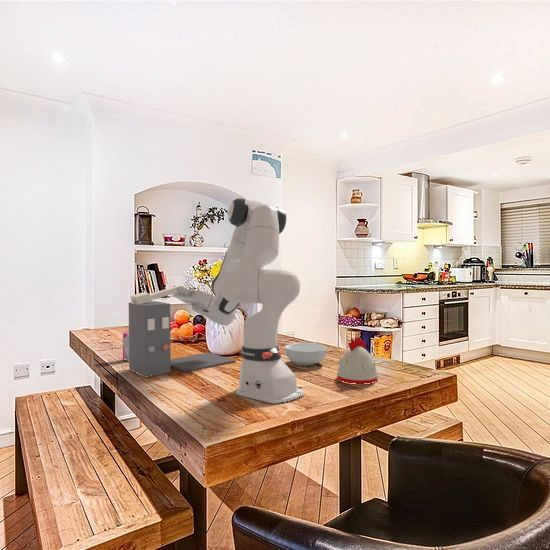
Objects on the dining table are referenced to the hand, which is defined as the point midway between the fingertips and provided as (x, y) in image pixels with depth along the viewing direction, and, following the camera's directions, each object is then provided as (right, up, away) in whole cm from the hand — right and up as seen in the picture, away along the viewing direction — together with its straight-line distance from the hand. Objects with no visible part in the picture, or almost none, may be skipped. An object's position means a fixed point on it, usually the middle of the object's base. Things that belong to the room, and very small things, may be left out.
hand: (175, 287), depth 165 cm
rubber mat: (+7, -31, +7) cm, 33 cm away
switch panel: (-8, -32, -7) cm, 33 cm away
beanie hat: (+68, -32, -17) cm, 77 cm away
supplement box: (-22, -31, +13) cm, 40 cm away
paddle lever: (-5, -3, -5) cm, 8 cm away
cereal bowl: (+52, -32, +6) cm, 61 cm away
